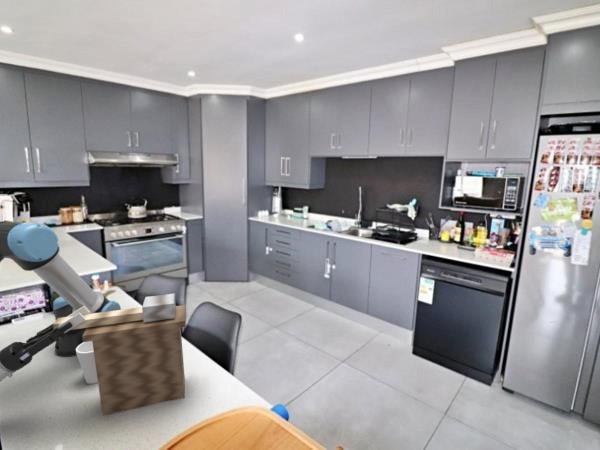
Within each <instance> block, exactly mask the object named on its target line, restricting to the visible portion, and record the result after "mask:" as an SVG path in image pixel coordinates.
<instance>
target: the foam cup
mask: <svg viewBox="0 0 600 450" xmlns="http://www.w3.org/2000/svg"><path fill="white" fill-rule="evenodd" d="M76 354H77V355H76V357H77V359H78V361H79V365H80V367H81V370H82V372H83V376H84V378H85V379H84V380H85V381H86V382H85V383H86V384H89V385H91V384H96V383H97V384H98V378H97V371H96V364H95V357H94V349H93V342H92V341H88V342H83V343H81V344H80V345H78V347H77V348H76Z"/></svg>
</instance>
